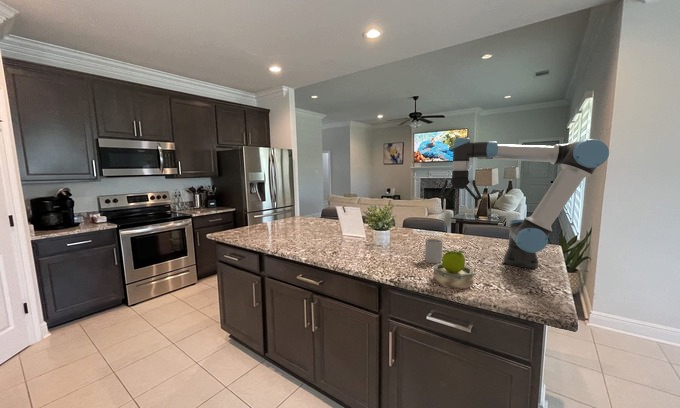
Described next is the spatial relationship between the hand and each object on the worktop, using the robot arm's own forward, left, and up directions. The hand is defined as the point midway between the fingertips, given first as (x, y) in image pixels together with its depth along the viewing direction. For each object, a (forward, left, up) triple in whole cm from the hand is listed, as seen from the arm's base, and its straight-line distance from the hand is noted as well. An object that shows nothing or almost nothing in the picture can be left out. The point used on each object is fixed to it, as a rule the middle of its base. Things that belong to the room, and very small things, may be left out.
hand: (458, 212), depth 143 cm
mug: (+11, -2, -27) cm, 29 cm away
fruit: (0, +25, -23) cm, 34 cm away
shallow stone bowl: (0, +25, -27) cm, 37 cm away
